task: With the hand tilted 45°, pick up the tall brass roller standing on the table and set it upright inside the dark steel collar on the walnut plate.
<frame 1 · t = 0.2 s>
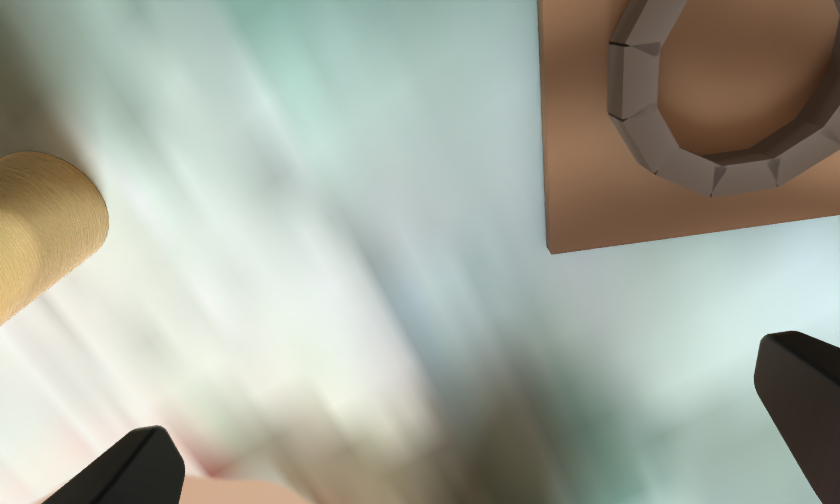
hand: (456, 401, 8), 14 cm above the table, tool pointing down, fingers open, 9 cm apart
brass roller: (47, 209, 21), on the table
collar plate: (723, 57, 19), on the table
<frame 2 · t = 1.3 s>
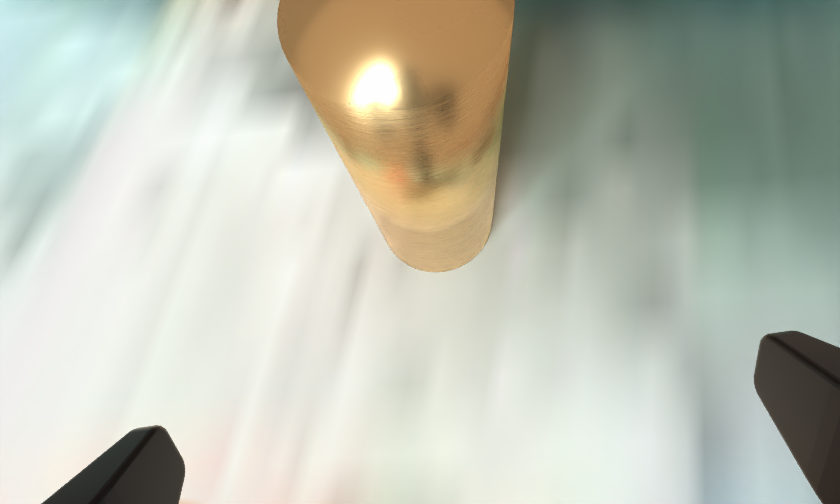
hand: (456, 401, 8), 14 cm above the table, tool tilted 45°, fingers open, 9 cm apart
brass roller: (436, 218, 23), on the table
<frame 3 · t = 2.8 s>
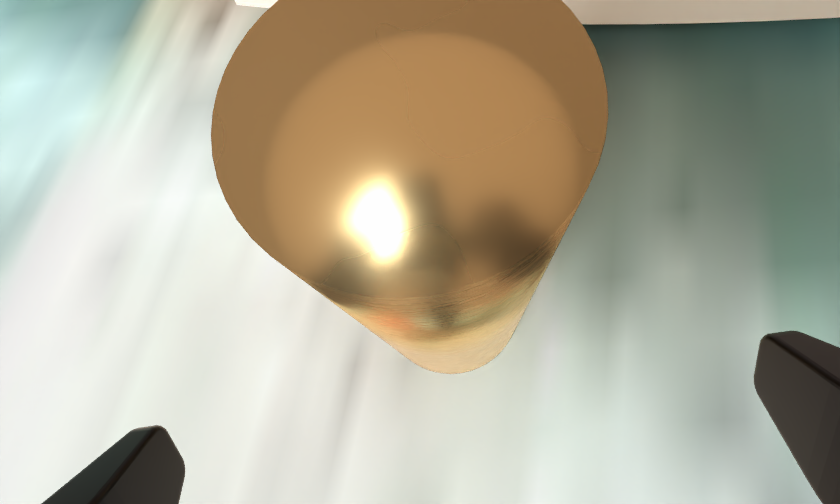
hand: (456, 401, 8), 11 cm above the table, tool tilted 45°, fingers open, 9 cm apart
brass roller: (450, 304, 19), on the table
when the fingers open (9 cm above the table, at t = 9.7 s): brass roller drops 1 cm, resting on collar plate.
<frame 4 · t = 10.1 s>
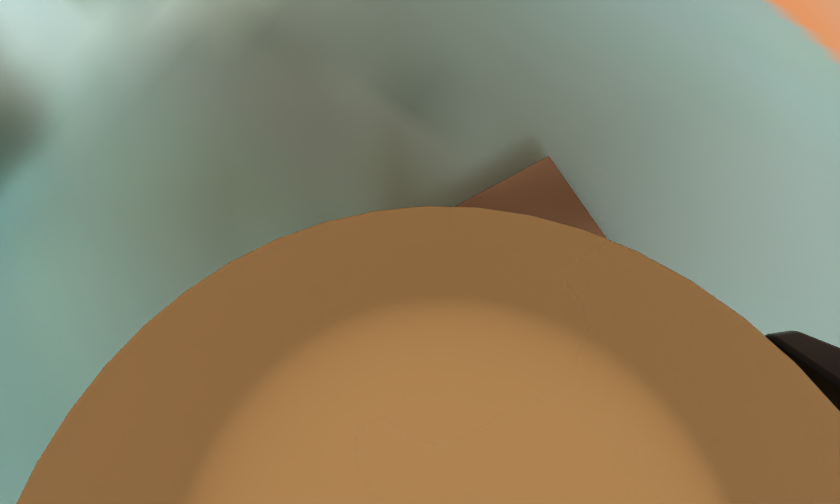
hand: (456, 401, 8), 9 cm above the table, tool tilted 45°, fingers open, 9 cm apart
brass roller: (472, 451, 15), point 1 cm above the table, touching collar plate
collar plate: (472, 448, 16), on the table
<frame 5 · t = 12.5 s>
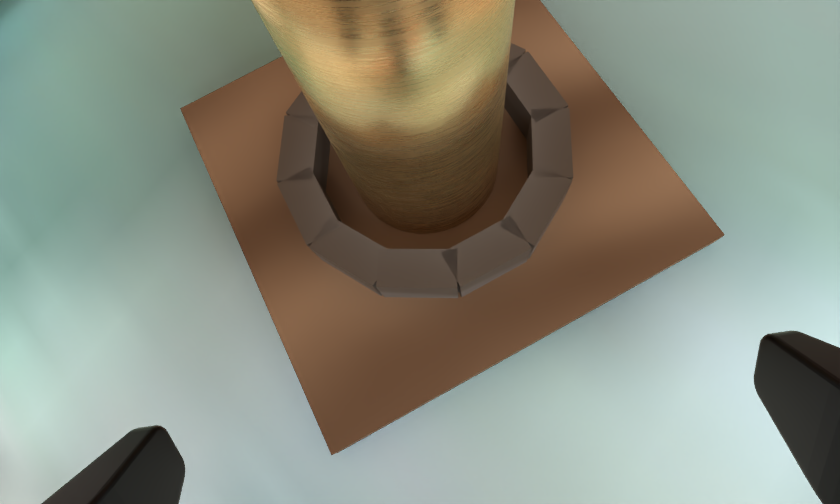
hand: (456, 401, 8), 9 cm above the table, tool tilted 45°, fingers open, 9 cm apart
brass roller: (425, 166, 18), point 1 cm above the table, touching collar plate
collar plate: (427, 175, 18), on the table
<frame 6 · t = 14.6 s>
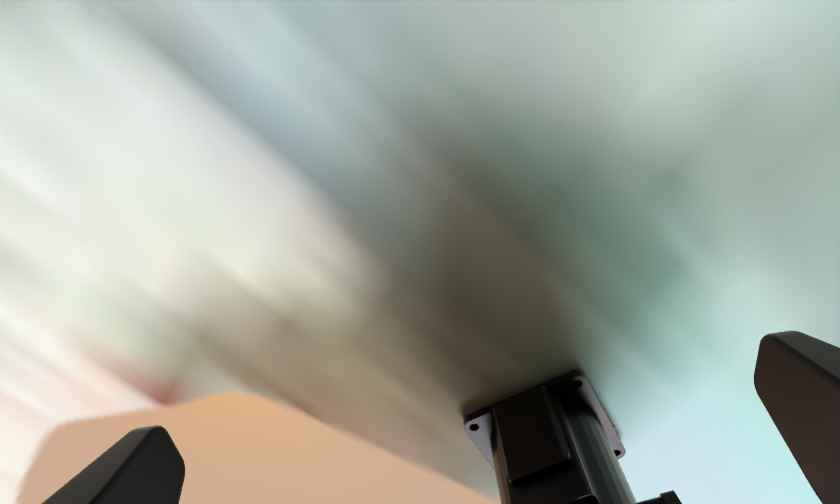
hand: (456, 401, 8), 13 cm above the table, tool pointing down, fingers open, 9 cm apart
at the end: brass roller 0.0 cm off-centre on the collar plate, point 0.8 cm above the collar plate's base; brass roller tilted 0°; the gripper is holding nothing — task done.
